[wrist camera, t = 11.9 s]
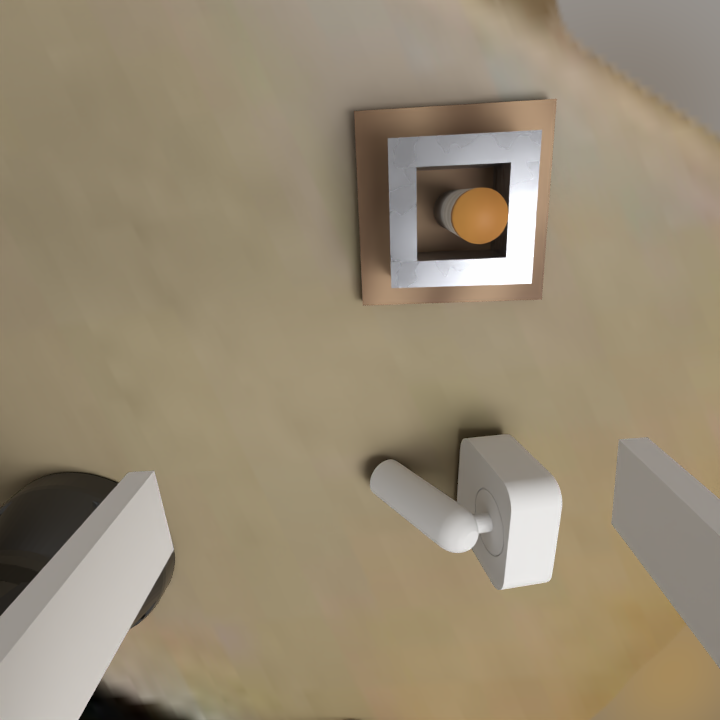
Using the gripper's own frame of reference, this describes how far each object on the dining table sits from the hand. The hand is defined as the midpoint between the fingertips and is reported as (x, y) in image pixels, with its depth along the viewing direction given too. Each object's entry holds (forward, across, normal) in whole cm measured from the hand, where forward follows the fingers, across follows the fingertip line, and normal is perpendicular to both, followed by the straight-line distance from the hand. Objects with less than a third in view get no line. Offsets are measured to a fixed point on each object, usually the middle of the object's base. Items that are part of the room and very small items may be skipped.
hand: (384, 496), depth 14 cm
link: (+20, +5, +7) cm, 22 cm away
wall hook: (+22, +5, -13) cm, 26 cm away
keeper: (+22, +5, +7) cm, 23 cm away
